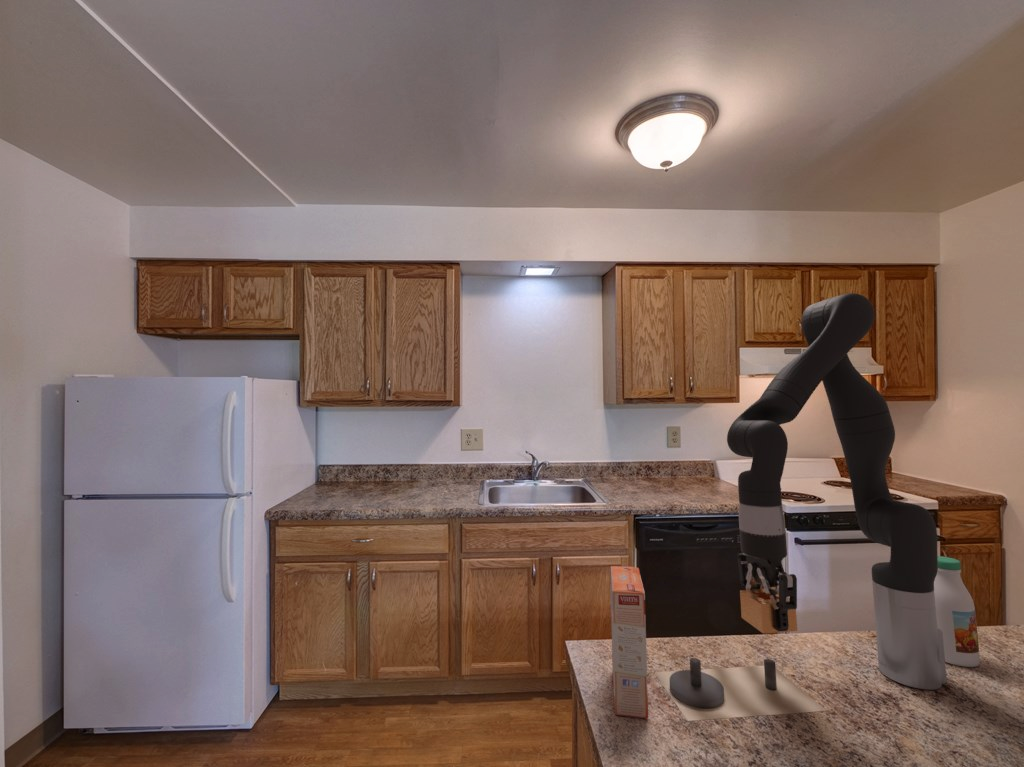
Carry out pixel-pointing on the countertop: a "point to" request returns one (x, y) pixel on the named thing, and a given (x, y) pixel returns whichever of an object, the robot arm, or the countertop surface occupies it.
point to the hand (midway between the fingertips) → (768, 621)
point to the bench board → (735, 692)
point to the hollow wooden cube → (763, 611)
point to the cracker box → (629, 642)
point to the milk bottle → (955, 615)
